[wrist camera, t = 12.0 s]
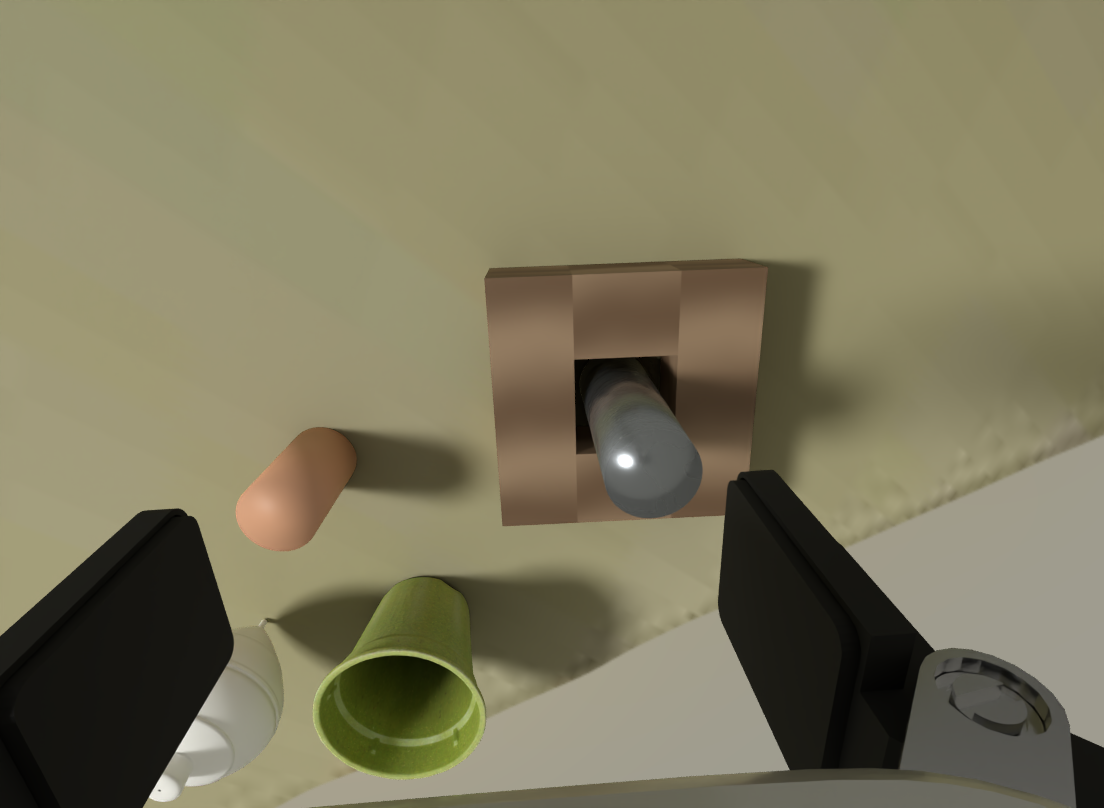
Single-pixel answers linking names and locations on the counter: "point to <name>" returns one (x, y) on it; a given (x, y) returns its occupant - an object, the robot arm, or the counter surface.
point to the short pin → (297, 490)
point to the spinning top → (230, 717)
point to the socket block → (615, 332)
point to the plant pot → (405, 687)
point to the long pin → (638, 440)
